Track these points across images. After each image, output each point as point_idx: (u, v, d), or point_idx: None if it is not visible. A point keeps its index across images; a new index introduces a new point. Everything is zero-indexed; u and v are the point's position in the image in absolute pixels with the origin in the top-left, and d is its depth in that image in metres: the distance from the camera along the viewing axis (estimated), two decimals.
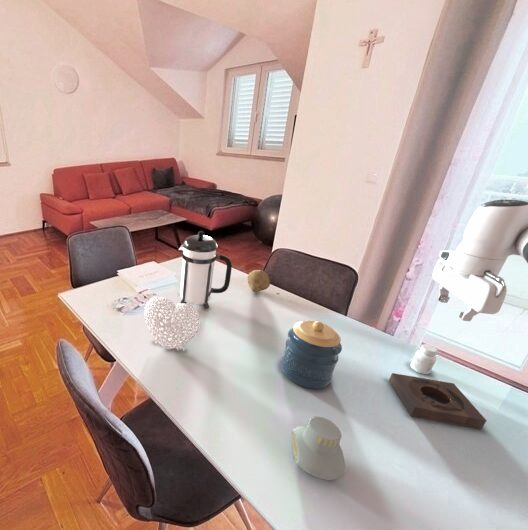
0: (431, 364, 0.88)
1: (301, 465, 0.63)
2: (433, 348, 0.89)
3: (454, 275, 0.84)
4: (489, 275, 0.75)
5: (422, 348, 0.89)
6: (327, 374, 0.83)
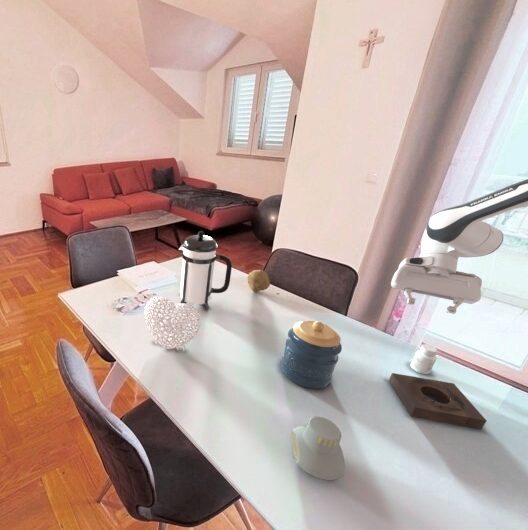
0: (431, 364, 0.88)
1: (301, 465, 0.63)
2: (433, 348, 0.89)
3: (426, 277, 0.97)
4: (462, 273, 0.95)
5: (422, 348, 0.89)
6: (327, 374, 0.83)
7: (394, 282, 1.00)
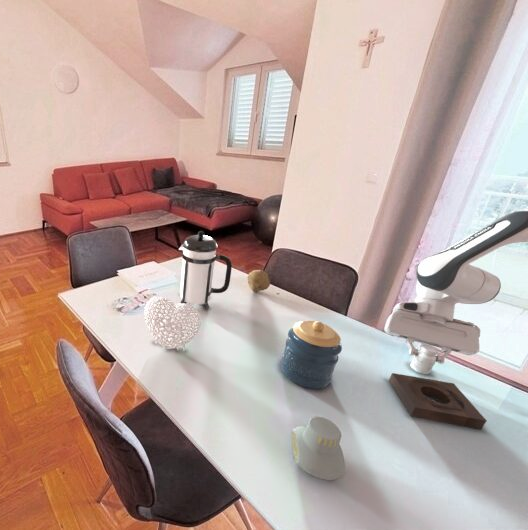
0: (431, 364, 0.88)
1: (301, 465, 0.63)
2: (433, 348, 0.89)
3: (421, 324, 0.92)
4: (460, 321, 0.90)
5: (422, 348, 0.89)
6: (327, 374, 0.83)
7: (387, 328, 0.95)
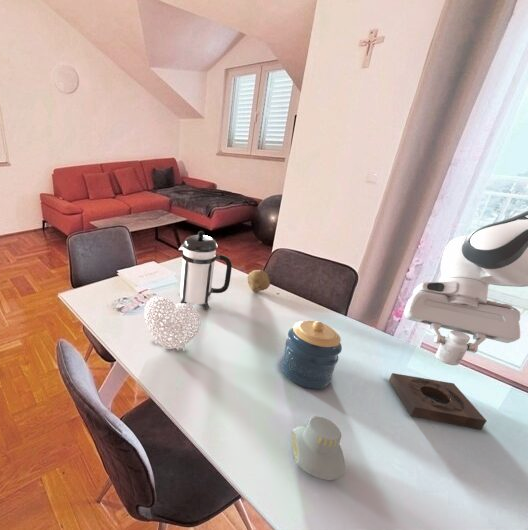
0: (462, 354, 0.75)
1: (301, 465, 0.63)
2: (464, 335, 0.75)
3: (449, 307, 0.78)
4: (495, 303, 0.76)
5: (451, 335, 0.76)
6: (327, 374, 0.83)
7: (408, 312, 0.81)
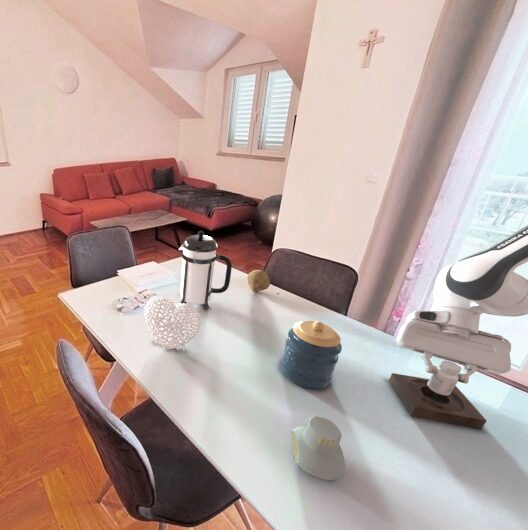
0: (453, 385, 0.75)
1: (301, 465, 0.63)
2: (455, 365, 0.75)
3: (440, 337, 0.79)
4: (486, 333, 0.76)
5: (442, 365, 0.76)
6: (327, 374, 0.83)
7: (400, 341, 0.81)
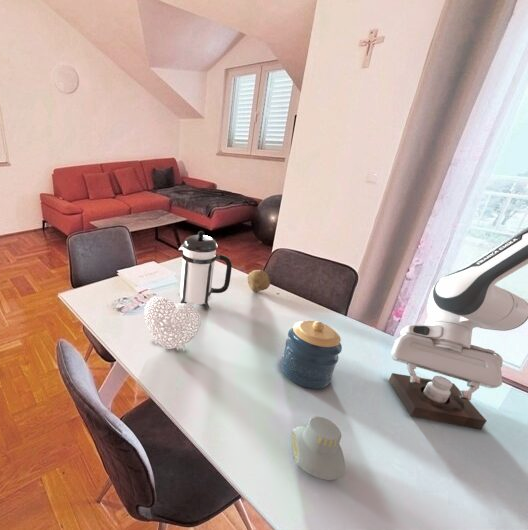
0: (445, 399, 0.77)
1: (301, 465, 0.63)
2: (447, 381, 0.77)
3: (434, 351, 0.80)
4: (478, 348, 0.78)
5: (434, 380, 0.78)
6: (327, 374, 0.83)
7: (395, 354, 0.83)
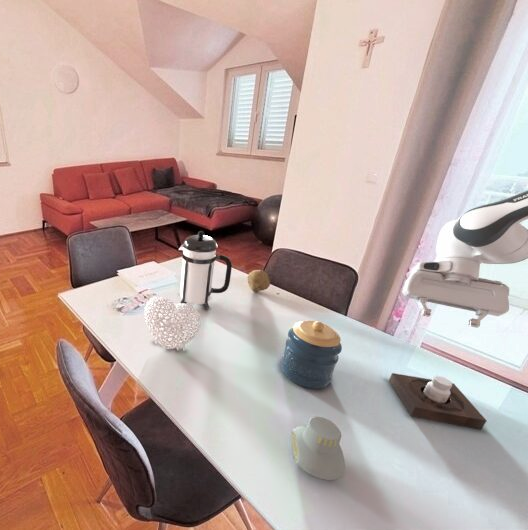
0: (445, 399, 0.77)
1: (301, 465, 0.63)
2: (447, 381, 0.77)
3: (444, 285, 0.85)
4: (486, 280, 0.82)
5: (434, 380, 0.78)
6: (327, 374, 0.83)
7: (406, 290, 0.88)
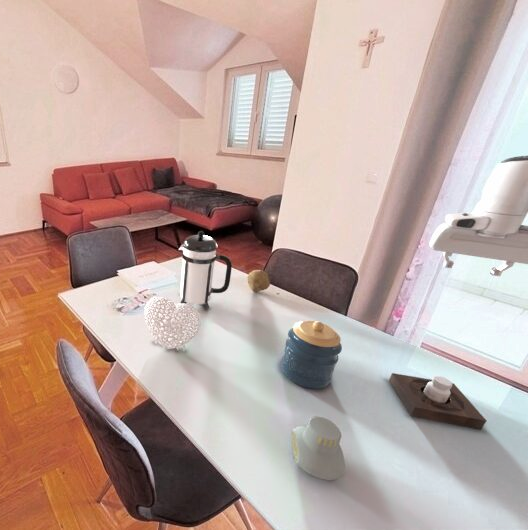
0: (445, 399, 0.77)
1: (301, 465, 0.63)
2: (447, 381, 0.77)
3: (475, 239, 0.82)
4: None
5: (434, 380, 0.78)
6: (327, 374, 0.83)
7: (431, 247, 0.87)
